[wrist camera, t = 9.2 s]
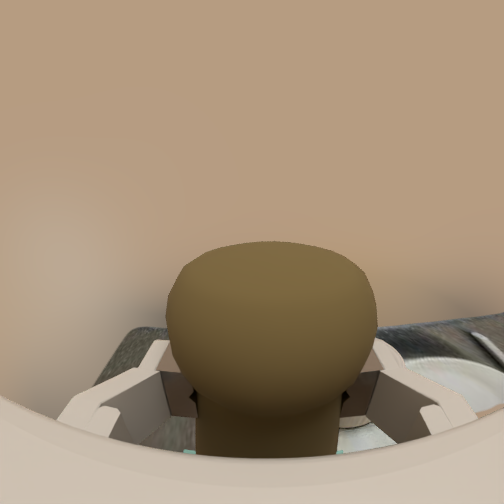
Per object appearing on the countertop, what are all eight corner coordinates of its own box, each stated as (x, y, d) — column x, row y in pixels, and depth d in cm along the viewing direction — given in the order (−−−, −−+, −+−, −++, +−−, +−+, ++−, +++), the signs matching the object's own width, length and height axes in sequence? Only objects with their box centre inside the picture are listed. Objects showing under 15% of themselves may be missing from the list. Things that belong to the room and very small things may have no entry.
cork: (178, 465, 11) (126, 240, 8) (284, 427, 14) (298, 220, 11) (234, 563, 6) (181, 358, 3) (357, 498, 8) (451, 263, 6)
